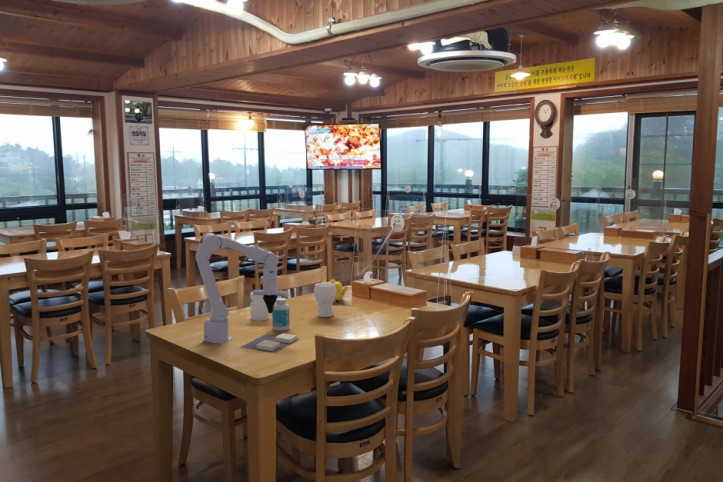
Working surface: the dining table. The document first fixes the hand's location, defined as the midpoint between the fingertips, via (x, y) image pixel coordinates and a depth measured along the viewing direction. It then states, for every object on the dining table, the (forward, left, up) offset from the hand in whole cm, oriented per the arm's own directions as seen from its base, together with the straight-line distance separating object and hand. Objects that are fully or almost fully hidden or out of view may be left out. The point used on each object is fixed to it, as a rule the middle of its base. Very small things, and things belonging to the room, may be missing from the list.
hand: (270, 312), depth 242 cm
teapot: (-3, +66, -10) cm, 67 cm away
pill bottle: (-1, +10, -10) cm, 14 cm away
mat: (+6, -10, -10) cm, 15 cm away
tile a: (+5, -15, -9) cm, 18 cm away
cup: (+6, +39, -10) cm, 41 cm away
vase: (-19, +21, -10) cm, 30 cm away
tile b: (+6, -4, -9) cm, 11 cm away
